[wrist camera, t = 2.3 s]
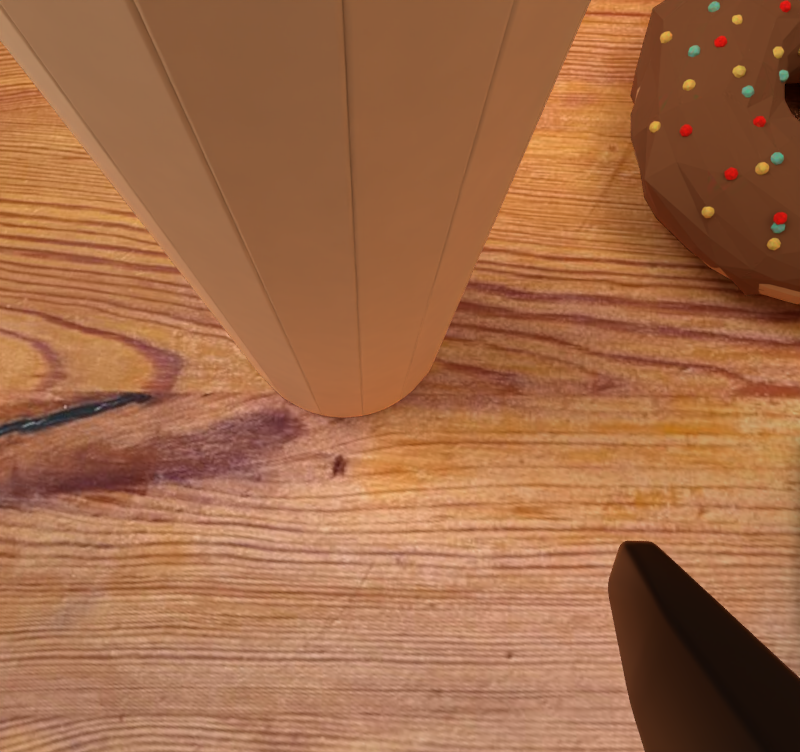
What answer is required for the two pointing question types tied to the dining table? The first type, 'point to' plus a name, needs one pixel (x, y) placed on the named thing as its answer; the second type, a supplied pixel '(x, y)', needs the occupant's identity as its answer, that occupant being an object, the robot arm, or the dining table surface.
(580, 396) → the dining table surface
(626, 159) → the dining table surface
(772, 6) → the donut
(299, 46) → the canister
